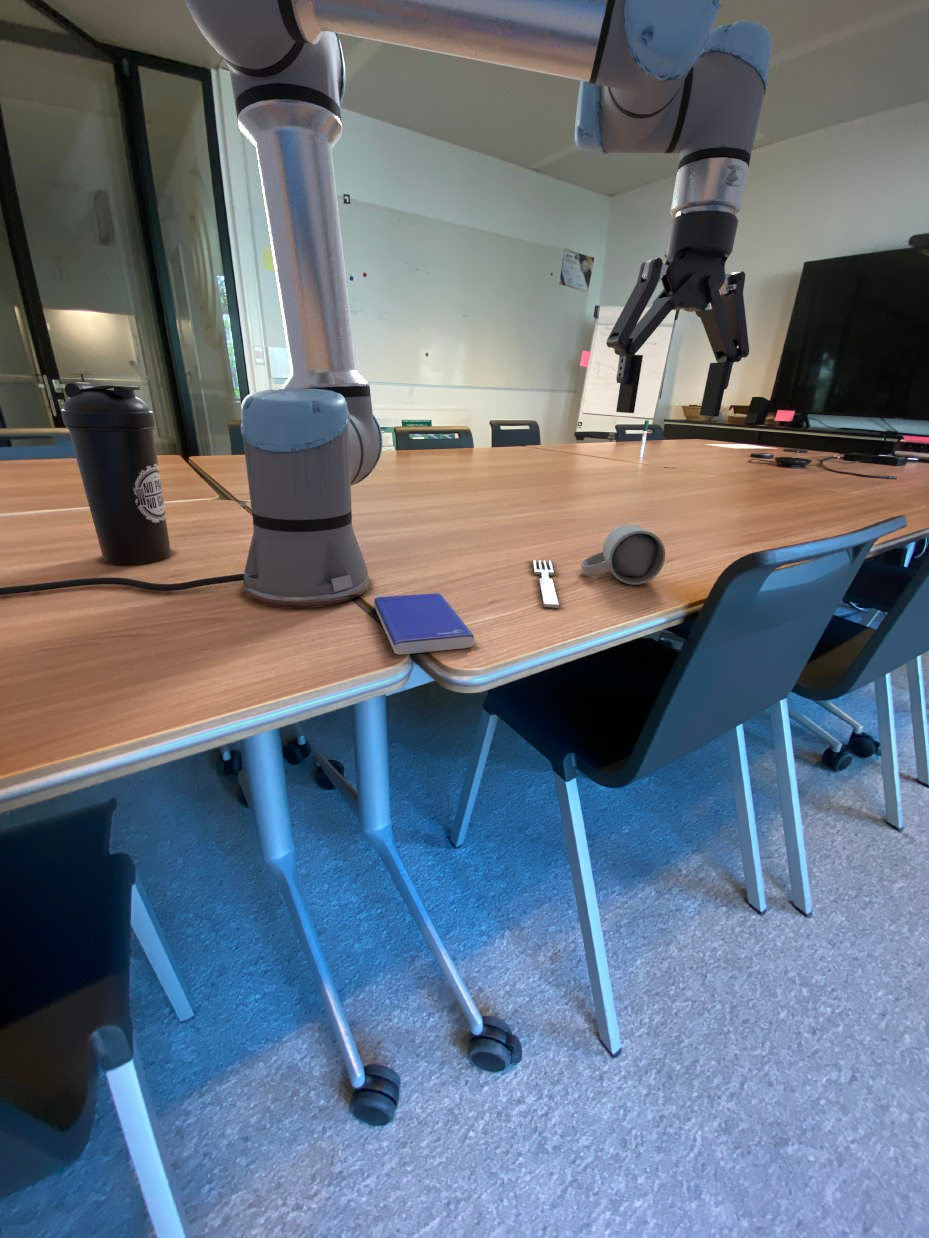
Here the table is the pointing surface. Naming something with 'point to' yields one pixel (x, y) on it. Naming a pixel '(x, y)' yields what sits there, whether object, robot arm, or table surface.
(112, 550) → the water bottle
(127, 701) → the table surface
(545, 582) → the fork
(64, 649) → the table surface
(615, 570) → the ceramic mug
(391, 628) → the hard drive
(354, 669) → the table surface
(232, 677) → the table surface
